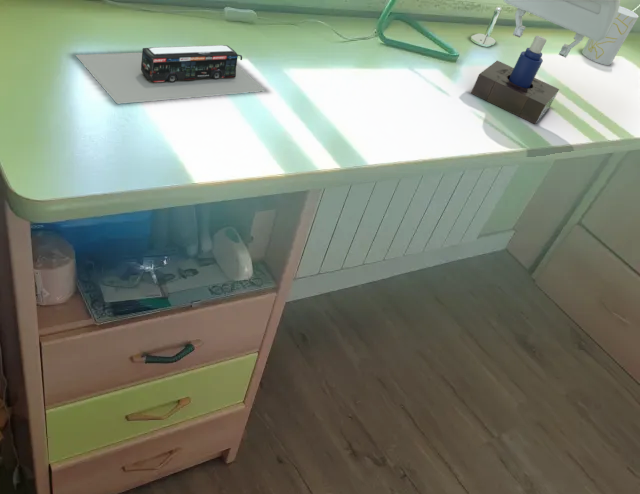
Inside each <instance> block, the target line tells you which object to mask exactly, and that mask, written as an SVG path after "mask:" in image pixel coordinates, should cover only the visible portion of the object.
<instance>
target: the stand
mask: <svg viewBox="0 0 640 494" xmlns="http://www.w3.org/2000/svg"><path fill="white" fill-rule="evenodd" d="M501 12H502V7H501V6H496V7H495V9H494V11H493V14H492V16H491V19H490V21H489V23H488V26H487V28H486V31H485V32H484V33H475V34H473V35H471V36H470V41H471V42H472V43H474V44H476V45H478V46H481V47H486V48H488V47H492V46H494V45H495V44H496V40H495V38H493V37H492V36H491V35H492V33H493V31H494V28H495V26H496V24H497V22H498V19H499V17H500V15H501Z"/></svg>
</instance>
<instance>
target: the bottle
mask: <svg viewBox="0 0 640 494" xmlns="http://www.w3.org/2000/svg"><path fill="white" fill-rule="evenodd" d="M532 40H533V41H532V43H531V45H530V47H526V49H525V50H524V51H521V52H520V54H519V56H518V58H517V61H516V62H515V65H514V66H513V68H514V69H513V71H512V73H511V75H510V77H509V79H508V80H509V81H510V82H512V83H513V84H515V85H518V86H520V87H523V88H529V87H530V85H531V83H532V81H533V80H534V78H536V76H537V74H538V72H539V69H540V68H541V65H542V64H543V62H544V61H543V58H542V57H543V53H542V51H543V49H544V47H545V45H546V43H547V39H546V38H545V37H543V36H540V35H535V37H534V39H532Z"/></svg>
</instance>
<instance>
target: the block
mask: <svg viewBox="0 0 640 494" xmlns="http://www.w3.org/2000/svg"><path fill="white" fill-rule="evenodd" d="M513 69H514V67H513V66H510V65H508V64H506V63H504V62H502V61H500V60H496V61H494V62H493V63H492V64H491V65H489V66H487V68H485V69H484V70H482V71H481V72H479V74H478V76H477V78H476V81H475V82H474V85H473V88H472V90H471V92H470V93H471V94H472V95H474V96H475V97H478V98H480V99H482V100H484V101H486V102H488V103H490V104H492V105H494V106H496V107H498V108H500V109H502V110H504V111H507V112H509V113H511V114H513V115H515V116H517V117H519V118H521V119H523V120H525V121H528V122H530V123H531V124H534V125H537V123H538V122H539V120H541V118H543V116H544V115H545V113H546V112H547V111H548V110H549V109H550V107H551V106H552V104H553V102H554V101H555V98H556V96H557V95H558V93H559V91H560V88H558V87H556V86H555V85H552V84H549V83H548V82H545V81H543V80H541V79H539V78H537V77H535V78H534V80H533V81H532V83H531V85H530V87H529V88H523V87H520V86H518V85H515V84H513V83H512V82H510V81H509V80H508V79H509V77H510V75H511V73H512V71H513Z"/></svg>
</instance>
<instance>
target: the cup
mask: <svg viewBox="0 0 640 494" xmlns="http://www.w3.org/2000/svg"><path fill="white" fill-rule="evenodd" d="M639 17H640V16H639V15H638V14H637V12H634V11H633V10H631V9H629V8H627V7H623V6H621V5H620V6H619V9H618V12H617V15H616V18H615V20H614V22H613V25H612V27H611V29H610V31H609V33H608V35H607V36H606V38H604V39H603V40H601V41H595V40H592V39H590V38H588V40H587V41H586V44H585V46H584V47H583V49H582V51H581V54H582V55H583V56H584V57H585V58H587V59H589V60H591V61H592V62H595V63H597V64H600V65H605V66H610V65H612V63H613V62H614V60H615V58H616V56H617V55H618V52H620V49H621V47H622V46H623V44H624V43H625V41H626V39H627V38H628V36H629V34H630V33H631V31H632V30H633V27H634V25H635V24H636V23H637V20H638V19H639Z"/></svg>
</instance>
